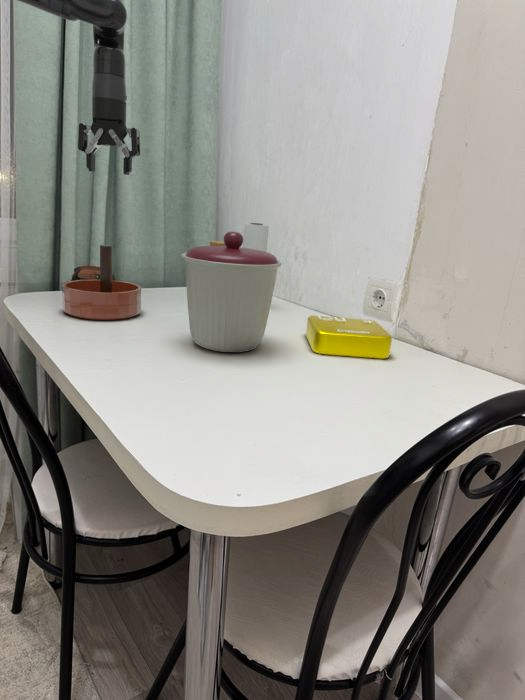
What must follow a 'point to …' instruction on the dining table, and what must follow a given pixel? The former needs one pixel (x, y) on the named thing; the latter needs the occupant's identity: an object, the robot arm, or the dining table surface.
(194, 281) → the canister
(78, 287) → the bowl
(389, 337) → the element tile
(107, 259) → the stirring stick
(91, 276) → the pottery mug
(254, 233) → the paper towel roll
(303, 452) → the dining table surface
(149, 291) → the dining table surface
